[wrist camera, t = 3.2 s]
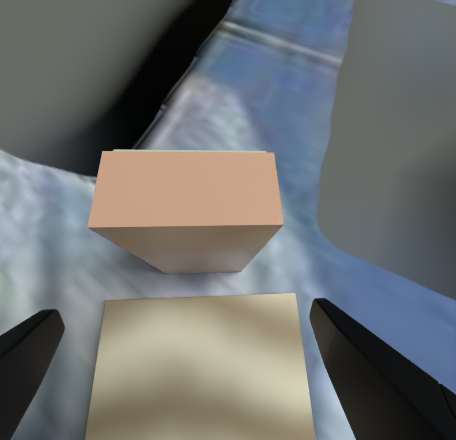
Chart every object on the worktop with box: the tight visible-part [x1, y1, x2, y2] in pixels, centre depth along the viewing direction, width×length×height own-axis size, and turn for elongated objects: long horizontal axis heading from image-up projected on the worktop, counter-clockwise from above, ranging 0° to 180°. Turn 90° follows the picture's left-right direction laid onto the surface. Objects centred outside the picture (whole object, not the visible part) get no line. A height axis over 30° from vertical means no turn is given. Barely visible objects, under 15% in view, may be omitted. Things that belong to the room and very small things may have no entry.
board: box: [85, 293, 316, 440], centre depth 15 cm, size 16×15×1 cm
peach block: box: [87, 150, 284, 274], centre depth 14 cm, size 3×6×12 cm, turn 92°
